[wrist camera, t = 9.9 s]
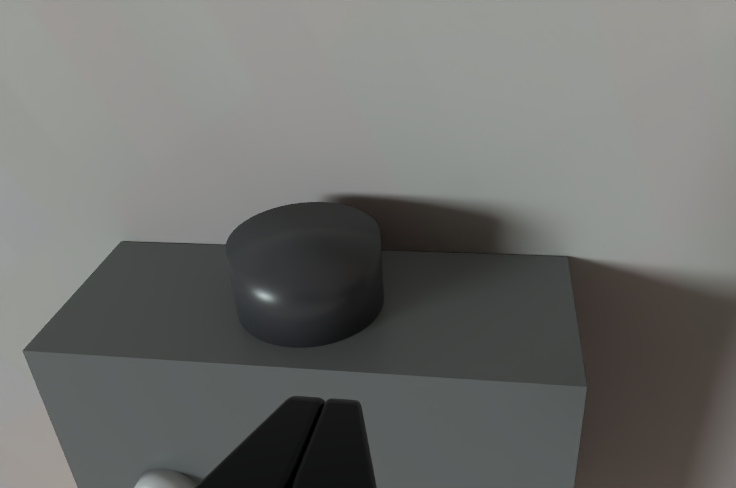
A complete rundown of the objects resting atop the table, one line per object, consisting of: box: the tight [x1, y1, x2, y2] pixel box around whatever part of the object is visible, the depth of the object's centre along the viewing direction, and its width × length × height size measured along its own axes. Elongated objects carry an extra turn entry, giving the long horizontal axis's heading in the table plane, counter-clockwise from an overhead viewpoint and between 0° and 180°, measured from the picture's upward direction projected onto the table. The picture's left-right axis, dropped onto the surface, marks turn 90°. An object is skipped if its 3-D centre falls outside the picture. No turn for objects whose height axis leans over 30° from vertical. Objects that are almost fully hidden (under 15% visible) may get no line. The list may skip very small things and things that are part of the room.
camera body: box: [23, 202, 587, 488], centre depth 21 cm, size 14×12×6 cm
